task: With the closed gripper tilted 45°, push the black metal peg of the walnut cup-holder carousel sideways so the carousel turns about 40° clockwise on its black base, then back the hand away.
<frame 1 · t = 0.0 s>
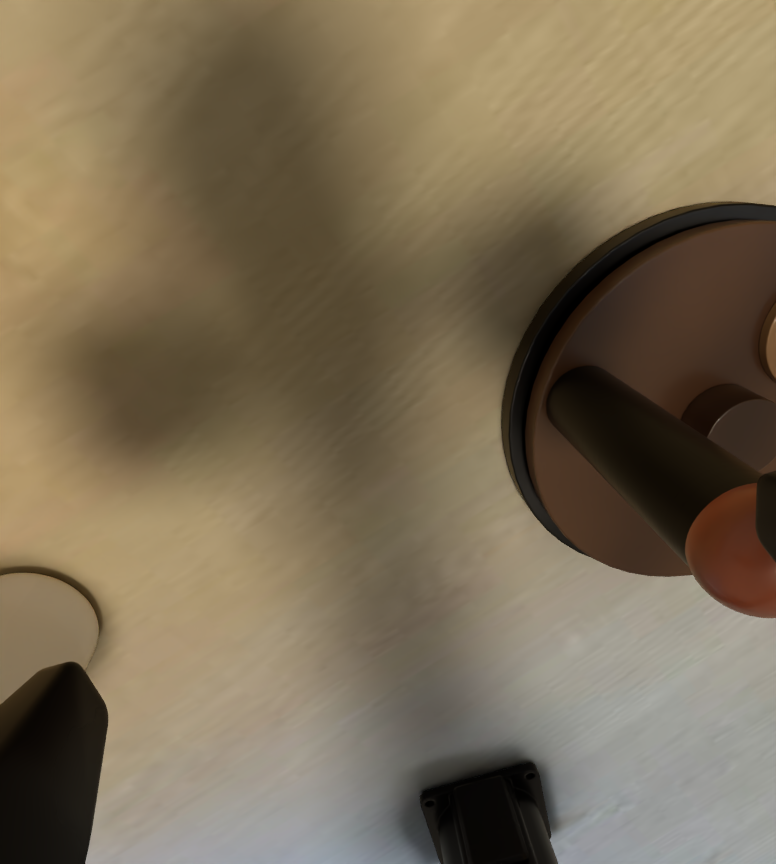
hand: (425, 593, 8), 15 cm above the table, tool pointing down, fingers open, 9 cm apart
drinking glass: (38, 614, 24), on the table
holder base: (681, 400, 24), on the table
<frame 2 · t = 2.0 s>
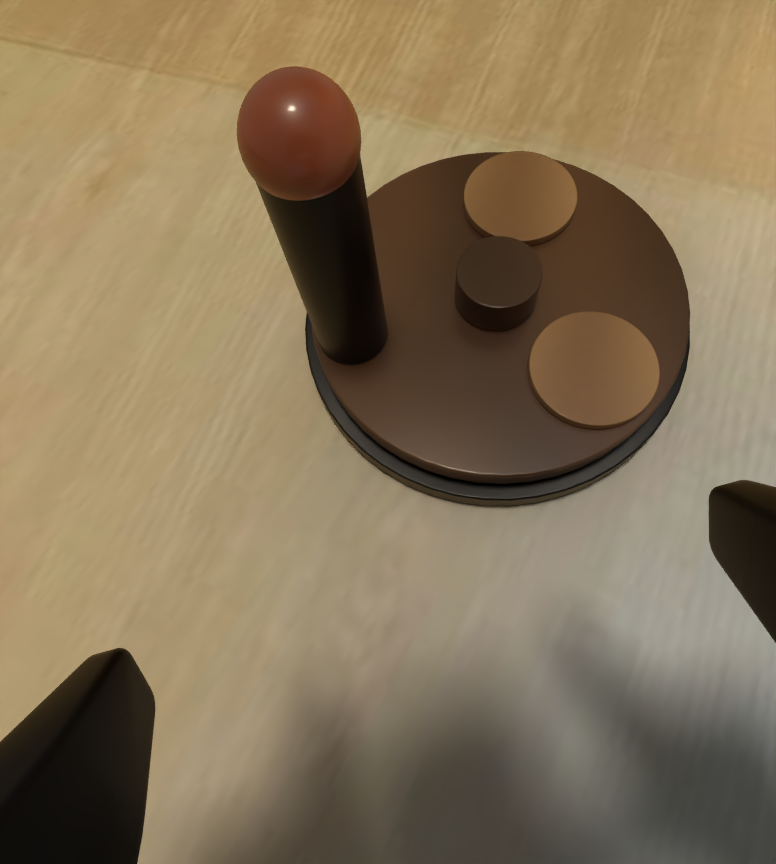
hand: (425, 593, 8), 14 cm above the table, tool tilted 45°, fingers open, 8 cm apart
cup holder: (509, 208, 17), point 7 cm above the table, hinge at 0.0°
holder base: (489, 327, 24), on the table
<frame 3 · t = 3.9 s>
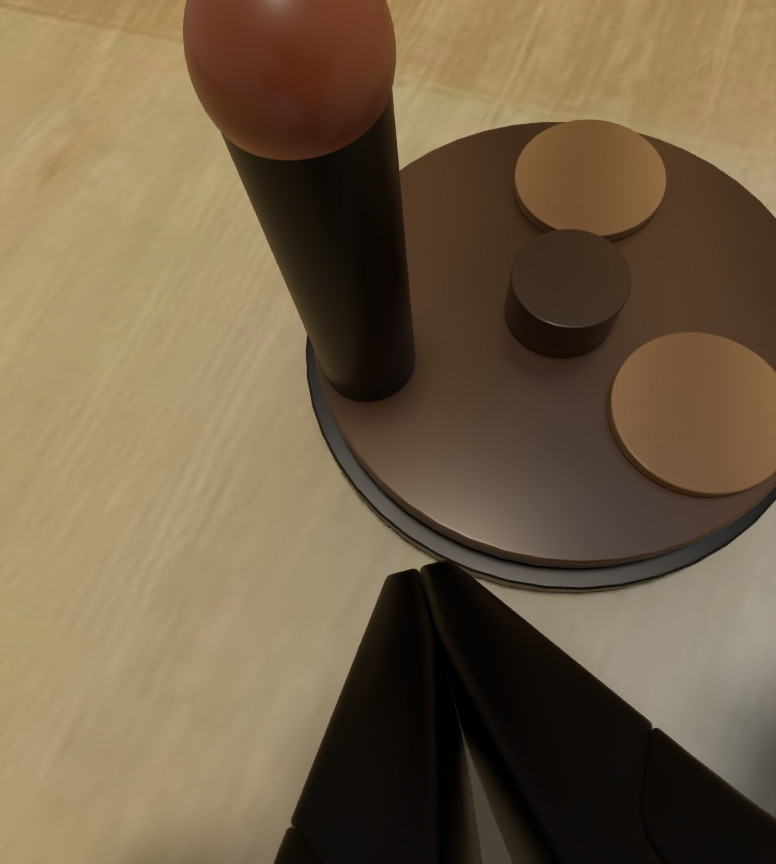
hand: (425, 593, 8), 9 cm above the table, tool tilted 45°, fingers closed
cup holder: (602, 187, 12), point 7 cm above the table, hinge at 0.0°
holder base: (545, 348, 18), on the table
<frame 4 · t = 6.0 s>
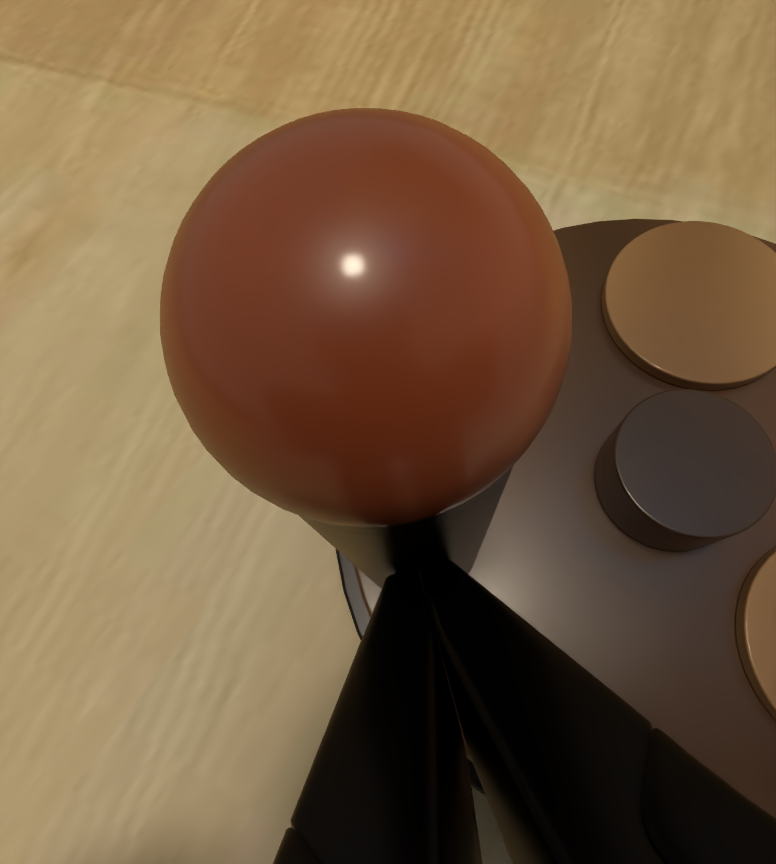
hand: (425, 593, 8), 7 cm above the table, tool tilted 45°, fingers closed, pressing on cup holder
holder base: (632, 505, 15), on the table
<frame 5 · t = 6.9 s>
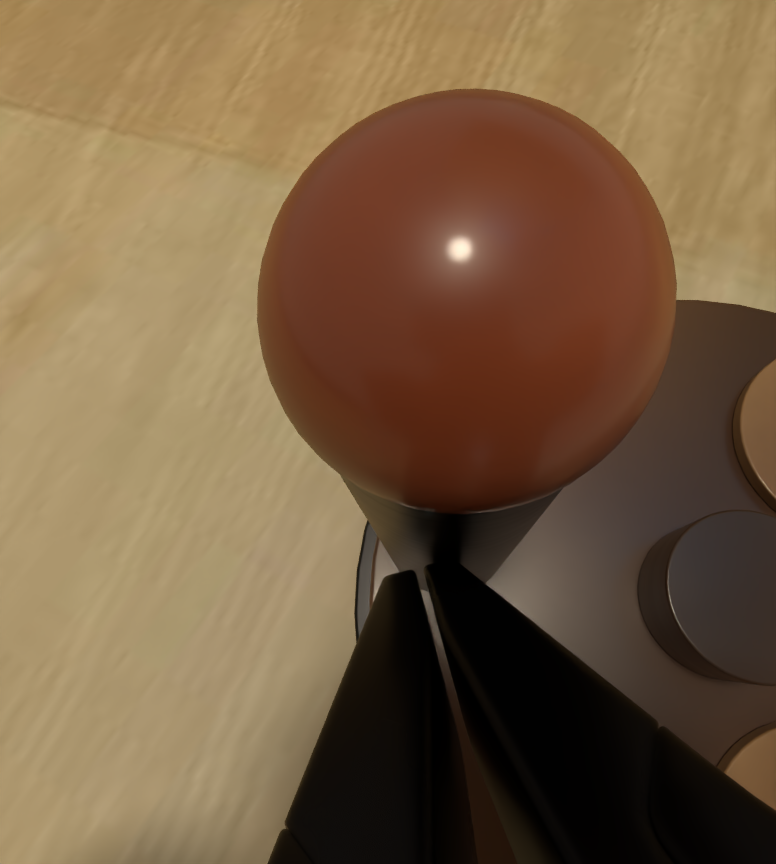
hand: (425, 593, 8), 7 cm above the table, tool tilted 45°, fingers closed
holder base: (672, 605, 14), on the table
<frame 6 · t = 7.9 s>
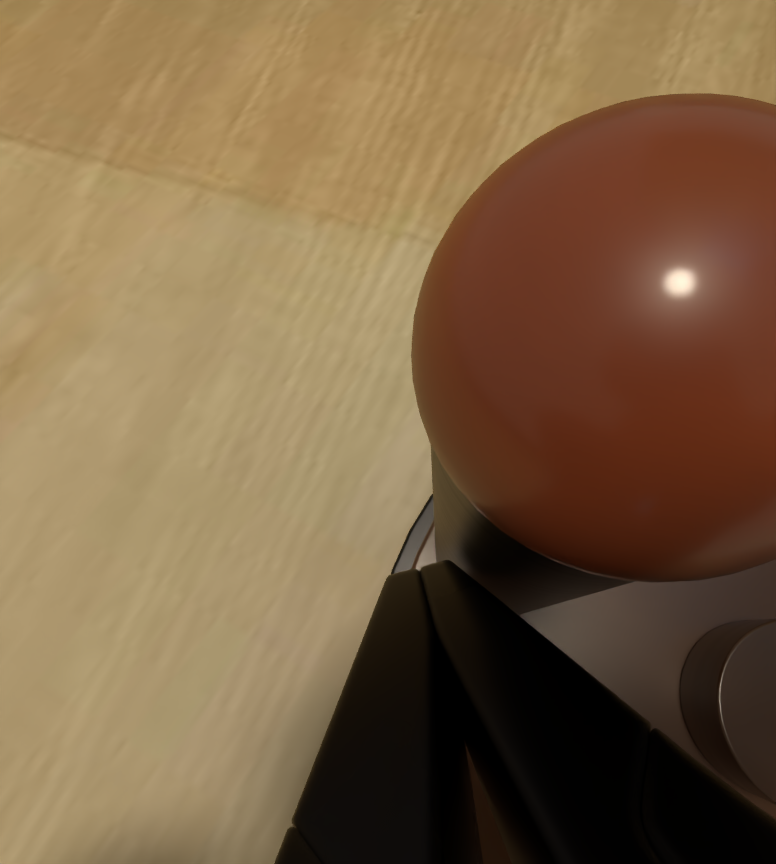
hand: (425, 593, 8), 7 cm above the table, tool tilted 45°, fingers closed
holder base: (709, 694, 13), on the table
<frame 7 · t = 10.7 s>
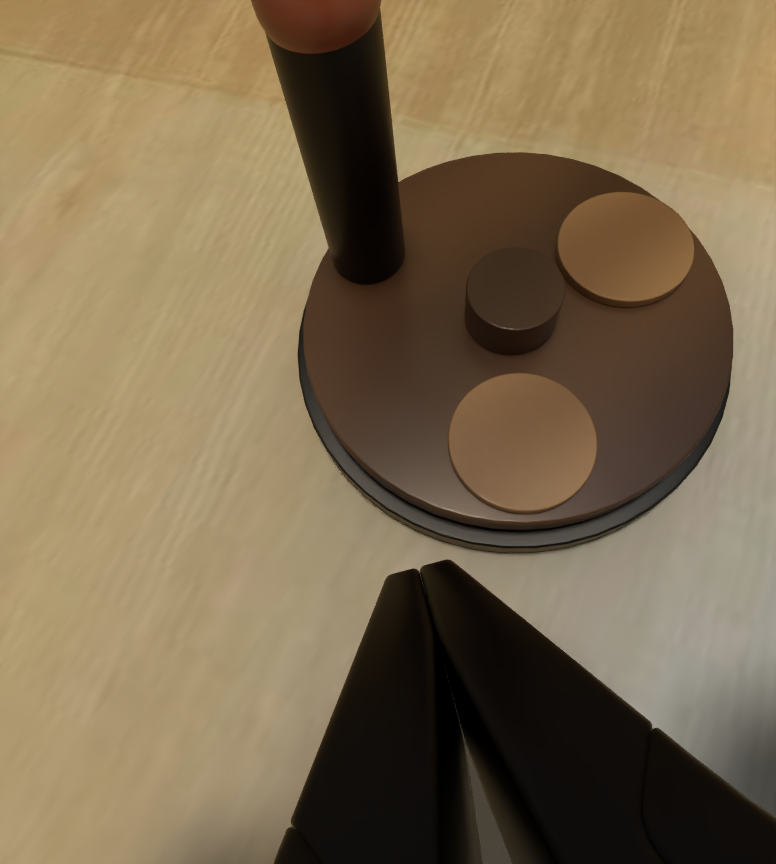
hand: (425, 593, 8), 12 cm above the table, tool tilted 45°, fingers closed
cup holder: (528, 217, 15), point 7 cm above the table, hinge at 45.7°
holder base: (503, 347, 21), on the table
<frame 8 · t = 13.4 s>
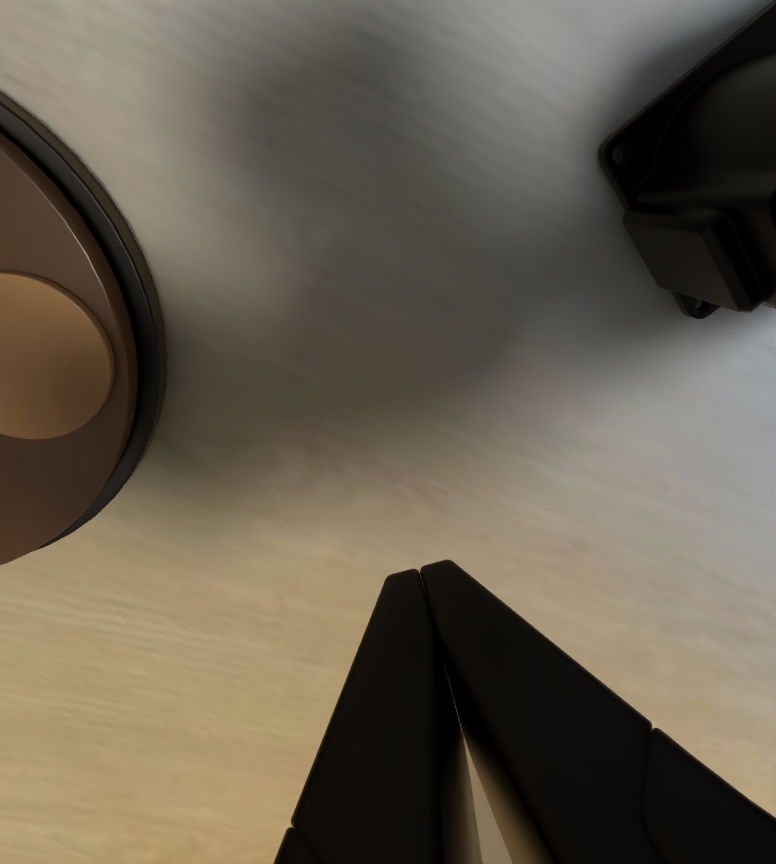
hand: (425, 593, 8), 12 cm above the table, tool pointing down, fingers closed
drinking glass: (488, 757, 27), on the table
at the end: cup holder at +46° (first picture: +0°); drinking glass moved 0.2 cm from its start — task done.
